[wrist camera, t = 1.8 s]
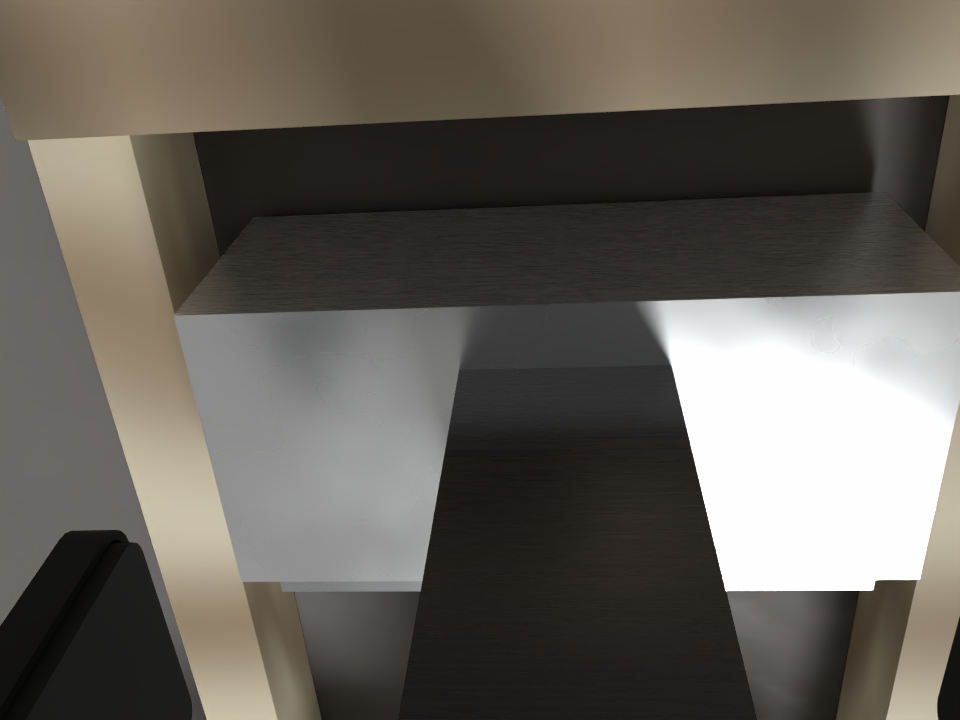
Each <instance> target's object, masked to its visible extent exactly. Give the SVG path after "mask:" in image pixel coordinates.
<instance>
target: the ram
mask: <svg viewBox="0 0 960 720" xmlns="http://www.w3.org/2000/svg"><path fill="white" fill-rule="evenodd" d="M174 320H175V324H176V328H177V332H178V335H179V339H180V343H181V347H182V351H183V355H184V359H185V363H186V367H187V371H188V375H189V379H190V383H191V386H192V390H193V394H194V398H195V402H196V406H197V410H198V414H199V418H200V422H201V426H202V430H203V434H204V437H205V441H206V445H207V449H208V453H209V457H210V461H211V465H212V469H213V473H214V477H215V481H216V485H217V488H218V492H219V496H220V500H221V504H222V508H223V512H224V516H225V520H226V524H227V528H228V532H229V536H230V539H231V543H232V547H233V551H234V555H235V559H236V563H237V567H238V571H239V575H240V579H241V582H280V583H281V588H282V592H340V591H421V592H420V598H419V603H418V609H417V615H416V621H415V626H414V632H413V638H412V644H411V649H410V655H409V661H408V667H407V672H406V678H405V684H404V690H403V696H402V701H401V707H400V713H399V719H398V720H757V717H756V713H755V709H754V705H753V701H752V697H751V692H750V688H749V684H748V680H747V676H746V672H745V668H744V663H743V659H742V655H741V651H740V647H739V643H738V639H737V634H736V630H735V626H734V622H733V618H732V614H731V610H730V605H729V601H728V597H727V593H726V591H768V590H873V589H874V584H875V580H919V579H920V575H921V570H922V566H923V561H924V557H925V552H926V548H927V543H928V539H929V535H930V530H931V526H932V521H933V517H934V512H935V508H936V503H937V499H938V494H939V490H940V485H941V481H942V476H943V472H944V467H945V463H946V458H947V454H948V450H949V445H950V441H951V436H952V432H953V427H954V423H955V418H956V414H957V409H958V405H959V400H960V266H959V265H958V264H957V263H956V262H955V261H954V260H953V259H952V258H951V257H950V256H949V255H948V254H947V253H946V252H945V251H944V250H943V249H942V248H941V247H940V246H939V245H938V244H937V243H936V242H935V241H934V240H933V239H932V238H931V237H930V236H929V235H928V234H927V233H926V232H925V231H924V230H923V229H922V228H921V227H920V226H919V225H918V224H917V223H916V222H915V221H914V220H913V219H912V218H911V217H910V216H909V215H908V214H907V213H906V212H905V211H904V210H903V209H902V208H901V207H900V206H899V205H898V204H897V203H896V202H895V201H894V200H893V199H892V198H891V197H890V196H889V195H888V194H887V193H886V192H871V193H846V194H821V195H796V196H771V197H747V198H722V199H697V200H672V201H647V202H622V203H598V204H573V205H548V206H523V207H498V208H473V209H448V210H424V211H399V212H374V213H349V214H324V215H299V216H275V217H253V219H252V220H251V221H250V222H249V223H248V225H247V226H246V227H245V228H244V230H243V231H242V232H241V233H240V235H239V236H238V237H237V238H236V239H235V241H234V242H233V243H232V244H231V246H230V247H229V248H228V249H227V251H226V252H225V253H224V254H223V255H222V257H221V258H220V259H219V260H218V262H217V263H216V264H215V265H214V266H213V268H212V269H211V270H210V271H209V273H208V274H207V275H206V276H205V278H204V279H203V280H202V281H201V282H200V284H199V285H198V286H197V287H196V289H195V290H194V291H193V292H192V294H191V295H190V296H189V297H188V298H187V300H186V301H185V302H184V303H183V305H182V306H181V307H180V308H179V309H178V311H177V312H176V313H175V314H174Z"/></svg>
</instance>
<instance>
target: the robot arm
mask: <svg viewBox="0 0 960 720" xmlns="http://www.w3.org/2000/svg"><path fill="white" fill-rule="evenodd" d="M937 714H938V720H960V617H959V621H958V624H957V628H956V632H955V636H954V639H953V643H952V647H951V651H950V654H949V658H948V662H947V665H946V669H945V673H944V677H943V680H942V684H941V688H940V692H939V695H938V701H937ZM191 719H192V703H191V698H190V695H189V692H188V689H187V686H186V682H185V679H184V676H183V673H182V670H181V667H180V664H179V661H178V658H177V655H176V652H175V649H174V646H173V643H172V640H171V636H170V633H169V630H168V627H167V624H166V621H165V618H164V615H163V612H162V609H161V606H160V603H159V600H158V597H157V594H156V590H155V587H154V584H153V581H152V578H151V575H150V572H149V569H148V566H147V563H146V560H145V557H144V554H143V551H142V549H141V547H140V546H139V545H138V544H137V543H129V541H128V539H127V537H126V535H125V534H124V533H123V532H122V531H118V530H92V531H70V532H68V533H65V534H64V536H63V537H62V538H61V539H60V540H59V541H58V543H57V544H56V546H55V547H54V549H53V550H52V552H51V553H50V554H49V556H48V557H47V559H46V560H45V562H44V563H43V565H42V566H41V568H40V569H39V570H38V572H37V573H36V575H35V576H34V578H33V579H32V581H31V582H30V584H29V585H28V587H27V588H26V589H25V591H24V592H23V594H22V595H21V597H20V598H19V600H18V601H17V603H16V604H15V606H14V607H13V608H12V610H11V611H10V613H9V614H8V616H7V617H6V619H5V620H4V622H3V623H2V624H1V626H0V720H191Z"/></svg>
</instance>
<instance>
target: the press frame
mask: <svg viewBox="0 0 960 720" xmlns="http://www.w3.org/2000/svg"><path fill="white" fill-rule="evenodd" d="M0 94H1V97H2V100H3V104H4V107H5V110H6V113H7V116H8V119H9V123H10V126H11V129H12V132H13V135H14V138H15V141H25V140H28V143H29V146H30V150H31V153H32V156H33V159H34V163H35V166H36V169H37V172H38V176H39V179H40V182H41V185H42V189H43V192H44V195H45V198H46V201H47V205H48V208H49V211H50V214H51V218H52V221H53V224H54V227H55V231H56V234H57V237H58V240H59V243H60V247H61V250H62V253H63V256H64V260H65V263H66V266H67V269H68V273H69V276H70V279H71V282H72V285H73V289H74V292H75V295H76V298H77V302H78V305H79V308H80V311H81V315H82V318H83V321H84V324H85V327H86V331H87V334H88V337H89V340H90V344H91V347H92V350H93V353H94V357H95V360H96V363H97V366H98V370H99V373H100V376H101V379H102V382H103V386H104V389H105V392H106V395H107V399H108V402H109V405H110V408H111V412H112V415H113V418H114V421H115V424H116V428H117V431H118V434H119V437H120V441H121V444H122V447H123V450H124V454H125V457H126V460H127V463H128V466H129V470H130V473H131V476H132V479H133V483H134V486H135V489H136V492H137V496H138V499H139V502H140V505H141V509H142V512H143V515H144V518H145V521H146V525H147V528H148V531H149V534H150V538H151V541H152V544H153V547H154V551H155V554H156V557H157V560H158V563H159V567H160V570H161V573H162V576H163V580H164V583H165V586H166V589H167V593H168V596H169V599H170V602H171V605H172V609H173V612H174V615H175V618H176V622H177V625H178V628H179V631H180V635H181V638H182V641H183V644H184V647H185V651H186V654H187V657H188V660H189V664H190V667H191V670H192V673H193V677H194V680H195V683H196V686H197V690H198V693H199V696H200V699H201V702H202V706H203V709H204V712H205V715H206V719H207V720H322V719H321V714H320V710H319V705H318V701H317V696H316V692H315V687H314V682H313V678H312V673H311V669H310V664H309V660H308V655H307V651H306V646H305V641H304V637H303V632H302V628H301V623H300V619H299V614H298V610H297V605H296V600H295V596H294V592H282V588H281V583H280V582H241V579H240V575H239V571H238V567H237V563H236V559H235V555H234V551H233V547H232V543H231V539H230V536H229V532H228V528H227V524H226V520H225V516H224V512H223V508H222V504H221V500H220V496H219V492H218V488H217V485H216V481H215V477H214V473H213V469H212V465H211V461H210V457H209V453H208V449H207V445H206V441H205V437H204V434H203V430H202V426H201V422H200V418H199V414H198V410H197V406H196V402H195V398H194V394H193V390H192V386H191V383H190V379H189V375H188V371H187V367H186V363H185V359H184V355H183V351H182V347H181V343H180V339H179V335H178V332H177V328H176V324H175V320H174V314H175V313H176V312H177V311H178V309H179V308H180V307H181V306H182V305H183V303H184V302H185V301H186V300H187V298H188V297H189V296H190V295H191V294H192V292H193V291H194V290H195V289H196V287H197V286H198V285H199V284H200V282H201V281H202V280H203V279H204V278H205V276H206V275H207V274H208V273H209V271H210V270H211V269H212V268H213V266H214V265H215V264H216V263H217V262H218V260H219V259H220V254H219V250H218V245H217V241H216V236H215V232H214V227H213V222H212V218H211V213H210V209H209V204H208V200H207V195H206V191H205V186H204V181H203V177H202V172H201V168H200V163H199V159H198V154H197V150H196V145H195V140H194V136H193V132H208V131H228V130H249V129H269V128H289V127H310V126H330V125H350V124H371V123H391V122H411V121H432V120H452V119H472V118H493V117H513V116H533V115H554V114H574V113H594V112H615V111H635V110H655V109H676V108H696V107H716V106H737V105H757V104H777V103H798V102H818V101H838V100H859V99H879V98H899V97H920V96H940V95H950V97H949V103H948V108H947V114H946V119H945V125H944V130H943V136H942V141H941V146H940V152H939V157H938V163H937V168H936V174H935V179H934V185H933V190H932V196H931V201H930V207H929V212H928V218H927V223H926V229H925V232H926V233H927V234H928V235H929V236H930V237H931V238H932V239H933V240H934V241H935V242H936V243H937V244H938V245H939V246H940V247H941V248H942V249H943V250H944V251H945V252H946V253H947V254H948V255H949V256H950V257H951V258H952V259H953V260H954V261H955V262H956V263H957V264H958V265H959V266H960V0H0ZM959 617H960V400H959V405H958V409H957V414H956V418H955V423H954V427H953V432H952V436H951V441H950V445H949V450H948V454H947V458H946V463H945V467H944V472H943V476H942V481H941V485H940V490H939V494H938V499H937V503H936V508H935V512H934V517H933V521H932V526H931V530H930V535H929V539H928V543H927V548H926V552H925V557H924V561H923V566H922V570H921V575H920V579H919V580H875V584H874V589H873V590H859V596H858V601H857V607H856V612H855V618H854V623H853V628H852V634H851V639H850V645H849V650H848V656H847V661H846V667H845V672H844V678H843V683H842V689H841V694H840V700H839V705H838V711H837V716H836V720H938V714H937V701H938V695H939V692H940V688H941V684H942V680H943V677H944V673H945V669H946V665H947V662H948V658H949V654H950V651H951V647H952V643H953V639H954V636H955V632H956V628H957V624H958V621H959Z"/></svg>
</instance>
